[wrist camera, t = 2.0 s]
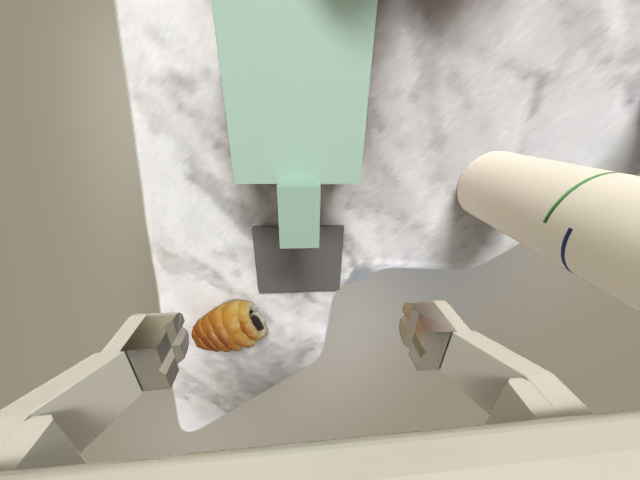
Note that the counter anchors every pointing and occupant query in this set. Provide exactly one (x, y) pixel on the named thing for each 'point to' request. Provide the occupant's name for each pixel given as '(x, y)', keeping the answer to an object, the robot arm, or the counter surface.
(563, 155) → the counter surface
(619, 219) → the cylindrical container
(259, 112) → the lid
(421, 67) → the counter surface
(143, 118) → the counter surface
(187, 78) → the counter surface
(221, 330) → the pastry
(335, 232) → the mat
